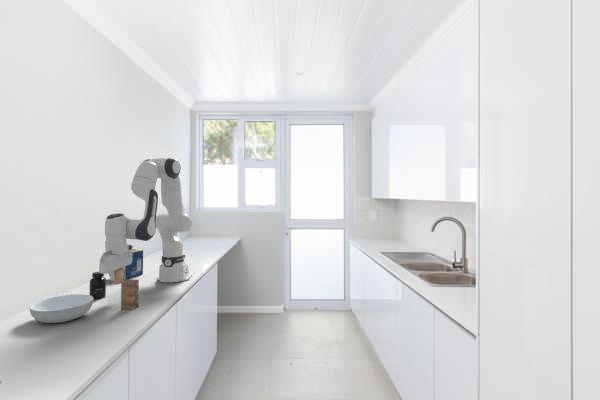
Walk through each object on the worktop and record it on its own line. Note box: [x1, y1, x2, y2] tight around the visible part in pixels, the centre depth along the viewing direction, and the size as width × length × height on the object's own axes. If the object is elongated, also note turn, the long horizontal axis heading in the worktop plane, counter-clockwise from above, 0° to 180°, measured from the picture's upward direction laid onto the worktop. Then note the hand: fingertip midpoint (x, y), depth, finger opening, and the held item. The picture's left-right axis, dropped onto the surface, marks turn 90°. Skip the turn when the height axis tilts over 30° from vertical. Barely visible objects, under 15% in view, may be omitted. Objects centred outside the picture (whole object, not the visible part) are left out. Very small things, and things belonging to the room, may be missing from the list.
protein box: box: [122, 248, 144, 281], centre depth 206 cm, size 10×15×16 cm
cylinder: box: [110, 269, 124, 285], centre depth 159 cm, size 5×5×6 cm
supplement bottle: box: [88, 271, 107, 300], centre depth 165 cm, size 7×7×12 cm
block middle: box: [120, 289, 140, 302], centre depth 150 cm, size 5×5×4 cm
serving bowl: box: [29, 293, 95, 324], centre depth 136 cm, size 21×21×7 cm
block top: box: [120, 278, 140, 292], centre depth 150 cm, size 5×5×4 cm
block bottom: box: [120, 297, 140, 311], centre depth 150 cm, size 5×5×4 cm
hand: (116, 278), depth 159 cm, fingers closed on cylinder, 5 cm apart
